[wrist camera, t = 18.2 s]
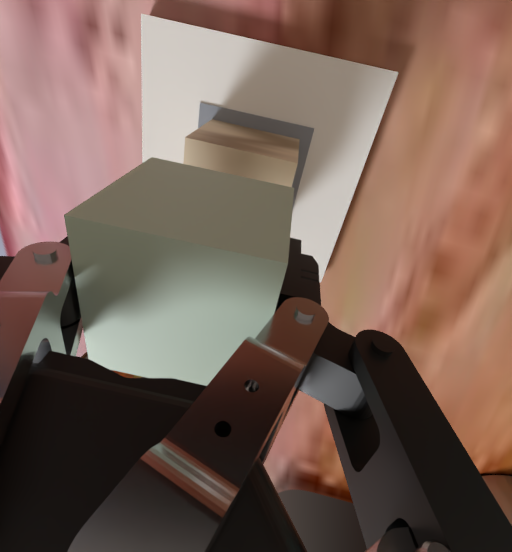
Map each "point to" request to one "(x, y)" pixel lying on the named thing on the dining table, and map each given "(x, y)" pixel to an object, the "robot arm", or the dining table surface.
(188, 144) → the birch block
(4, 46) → the dining table surface
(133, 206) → the sage block
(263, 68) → the base plate
